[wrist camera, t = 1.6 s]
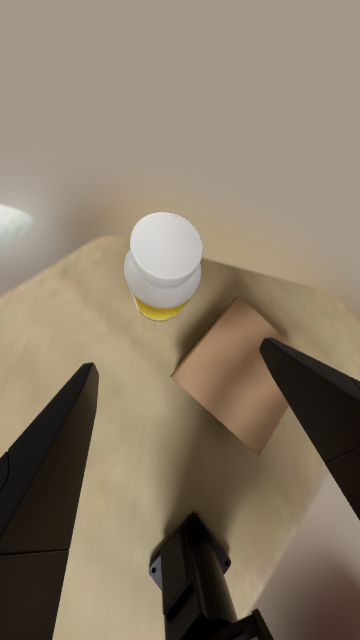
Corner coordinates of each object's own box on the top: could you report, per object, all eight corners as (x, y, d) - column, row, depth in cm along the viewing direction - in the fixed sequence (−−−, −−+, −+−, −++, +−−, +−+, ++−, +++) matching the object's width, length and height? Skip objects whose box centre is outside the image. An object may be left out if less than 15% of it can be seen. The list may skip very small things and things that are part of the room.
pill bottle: (187, 318, 22) (225, 288, 10) (137, 325, 20) (120, 299, 9) (179, 273, 23) (207, 199, 11) (131, 276, 21) (109, 198, 10)
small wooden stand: (286, 361, 23) (313, 363, 19) (238, 435, 20) (258, 456, 17) (224, 304, 23) (239, 295, 19) (167, 371, 20) (171, 377, 16)
